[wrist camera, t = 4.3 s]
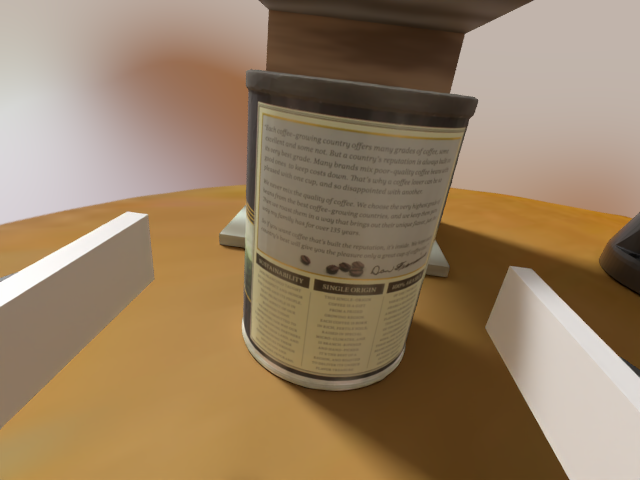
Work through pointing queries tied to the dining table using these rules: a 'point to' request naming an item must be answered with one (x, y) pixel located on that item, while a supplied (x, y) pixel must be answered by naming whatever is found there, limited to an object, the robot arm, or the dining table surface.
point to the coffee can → (341, 221)
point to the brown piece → (372, 52)
